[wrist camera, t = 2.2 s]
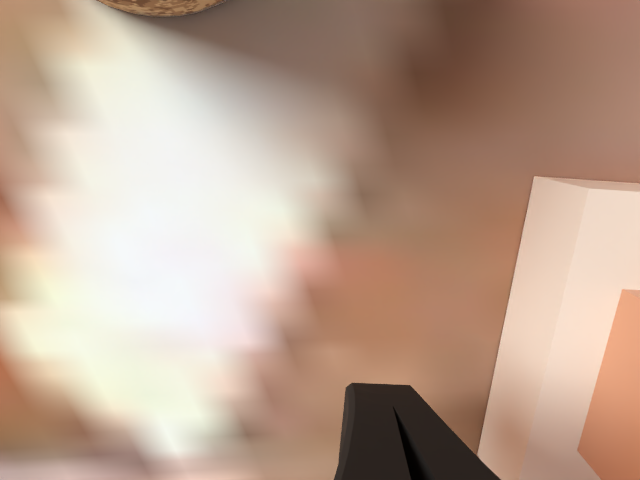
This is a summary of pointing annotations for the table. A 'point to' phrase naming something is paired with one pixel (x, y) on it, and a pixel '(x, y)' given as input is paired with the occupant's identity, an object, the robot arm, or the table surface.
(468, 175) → the table surface
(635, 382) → the tile
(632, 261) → the board
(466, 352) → the table surface
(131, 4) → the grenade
